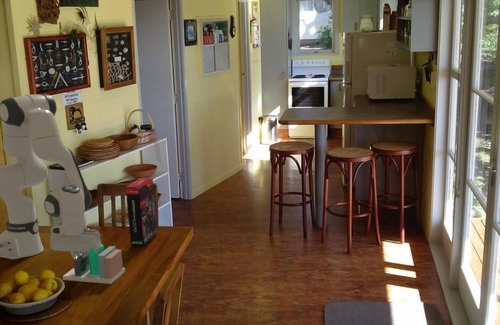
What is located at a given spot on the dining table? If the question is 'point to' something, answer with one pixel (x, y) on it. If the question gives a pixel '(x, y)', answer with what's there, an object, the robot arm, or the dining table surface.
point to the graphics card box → (141, 211)
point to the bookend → (81, 264)
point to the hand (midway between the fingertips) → (77, 261)
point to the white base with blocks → (102, 268)
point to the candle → (94, 260)
